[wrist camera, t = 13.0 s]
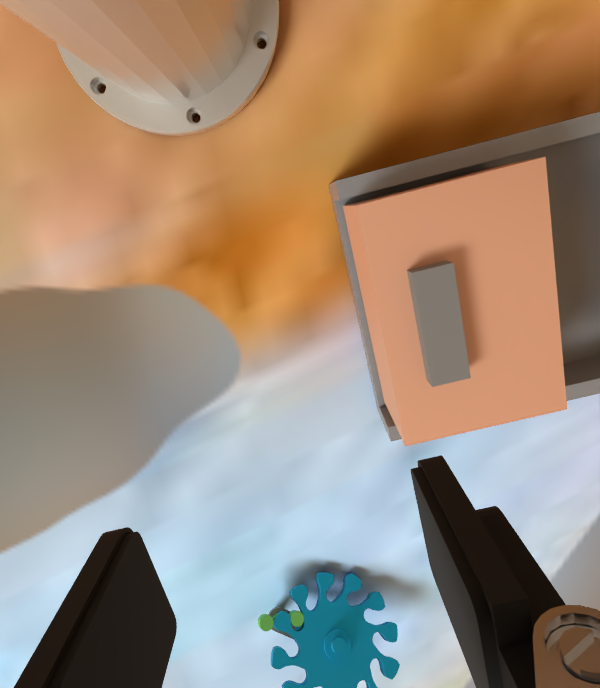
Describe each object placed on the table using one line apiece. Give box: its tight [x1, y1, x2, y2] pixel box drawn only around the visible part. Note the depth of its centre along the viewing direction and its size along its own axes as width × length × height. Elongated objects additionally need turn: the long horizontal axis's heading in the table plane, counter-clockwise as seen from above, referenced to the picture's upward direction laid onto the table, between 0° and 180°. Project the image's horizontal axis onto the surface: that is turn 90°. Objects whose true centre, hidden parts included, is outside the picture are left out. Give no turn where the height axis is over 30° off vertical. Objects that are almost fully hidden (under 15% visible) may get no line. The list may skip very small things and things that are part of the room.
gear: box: [258, 572, 400, 688], centre depth 36 cm, size 11×6×10 cm
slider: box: [343, 157, 567, 446], centre depth 26 cm, size 9×13×7 cm
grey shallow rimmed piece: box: [329, 112, 600, 441], centre depth 28 cm, size 20×16×4 cm
